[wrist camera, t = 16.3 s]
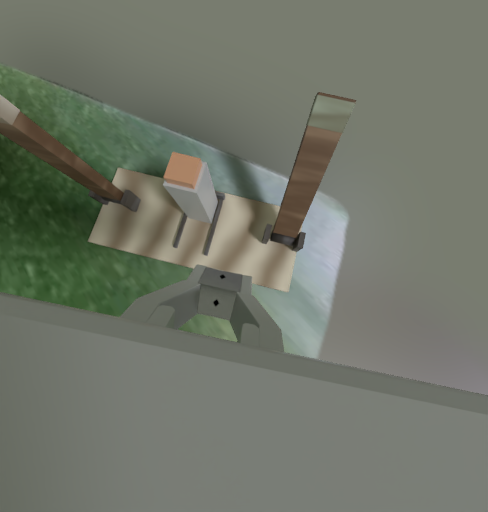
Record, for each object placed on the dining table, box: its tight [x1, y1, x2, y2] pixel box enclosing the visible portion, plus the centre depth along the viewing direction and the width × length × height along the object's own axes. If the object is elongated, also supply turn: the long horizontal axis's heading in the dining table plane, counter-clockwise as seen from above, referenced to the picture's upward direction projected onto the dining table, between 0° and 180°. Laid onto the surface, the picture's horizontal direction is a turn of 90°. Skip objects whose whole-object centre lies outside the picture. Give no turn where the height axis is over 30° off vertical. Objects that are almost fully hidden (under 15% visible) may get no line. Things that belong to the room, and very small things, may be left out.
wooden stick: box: [270, 92, 356, 246], centre depth 23 cm, size 2×4×18 cm
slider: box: [163, 152, 218, 224], centre depth 25 cm, size 4×4×11 cm
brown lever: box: [0, 95, 124, 205], centre depth 21 cm, size 2×4×18 cm, turn 76°
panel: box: [88, 168, 306, 292], centre depth 29 cm, size 34×14×5 cm, turn 76°
